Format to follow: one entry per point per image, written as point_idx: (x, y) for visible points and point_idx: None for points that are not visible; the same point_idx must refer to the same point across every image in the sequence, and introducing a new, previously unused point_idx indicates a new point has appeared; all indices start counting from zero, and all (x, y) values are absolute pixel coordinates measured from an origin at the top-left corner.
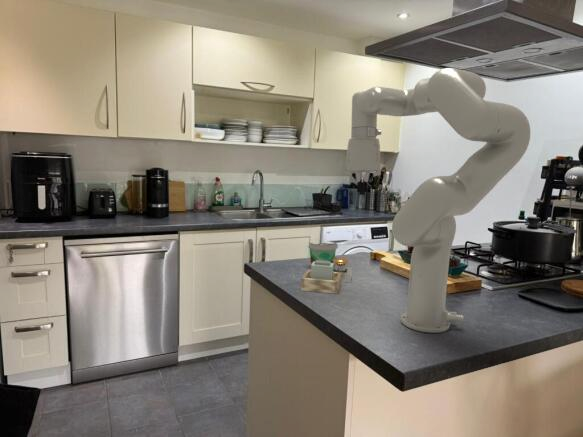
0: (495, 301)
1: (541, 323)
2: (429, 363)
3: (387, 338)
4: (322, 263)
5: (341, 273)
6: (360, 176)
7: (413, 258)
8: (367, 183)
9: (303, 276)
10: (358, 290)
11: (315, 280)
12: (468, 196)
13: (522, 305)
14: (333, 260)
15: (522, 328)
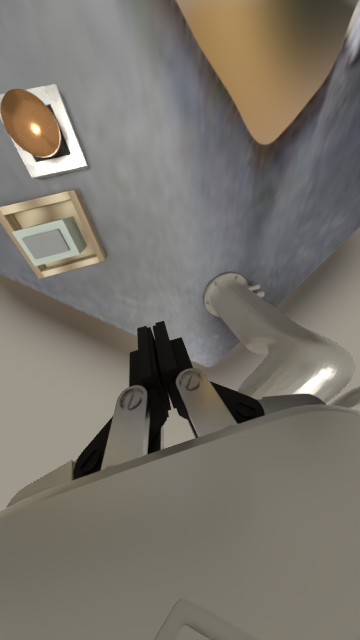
0: (325, 156)
1: (336, 228)
2: (225, 353)
3: (196, 339)
4: (53, 254)
5: (65, 170)
6: (147, 424)
7: (246, 347)
8: (192, 367)
9: (30, 264)
10: (126, 217)
11: (65, 271)
12: None
13: (354, 157)
14: (19, 145)
15: (310, 255)
